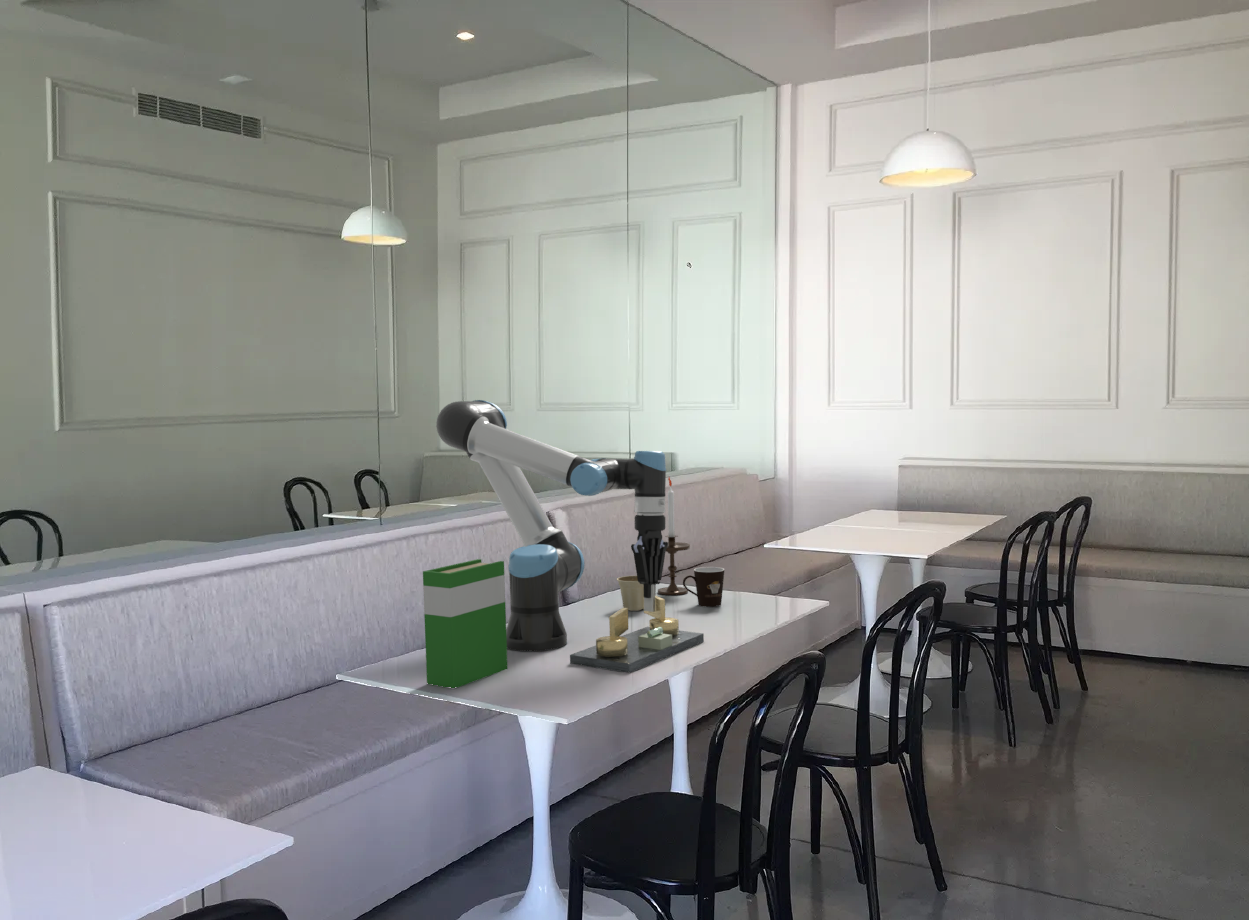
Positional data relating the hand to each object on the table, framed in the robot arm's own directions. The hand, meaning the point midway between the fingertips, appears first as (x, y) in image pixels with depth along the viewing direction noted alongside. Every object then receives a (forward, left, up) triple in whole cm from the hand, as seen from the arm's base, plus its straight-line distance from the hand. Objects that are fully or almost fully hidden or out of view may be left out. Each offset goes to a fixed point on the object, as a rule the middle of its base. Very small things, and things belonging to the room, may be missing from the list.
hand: (649, 611), depth 257 cm
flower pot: (+2, +37, -7) cm, 38 cm away
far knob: (+2, 0, -5) cm, 5 cm away
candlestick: (+17, +57, -7) cm, 60 cm away
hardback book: (-44, -23, -7) cm, 50 cm away
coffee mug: (+22, +37, -7) cm, 44 cm away
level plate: (-5, -12, -7) cm, 14 cm away
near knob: (-11, -17, -5) cm, 20 cm away
